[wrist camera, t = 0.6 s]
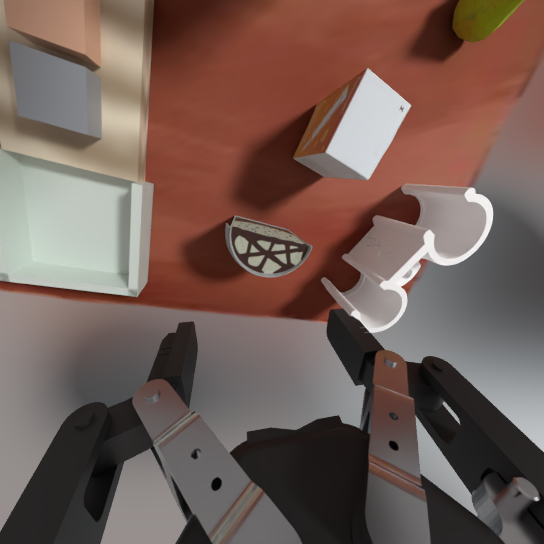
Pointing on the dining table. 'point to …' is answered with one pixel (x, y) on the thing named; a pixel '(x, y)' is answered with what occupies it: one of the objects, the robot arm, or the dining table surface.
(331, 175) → the small box
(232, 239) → the food container
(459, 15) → the fruit
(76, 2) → the tile
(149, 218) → the tray
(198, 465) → the robot arm
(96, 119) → the tile
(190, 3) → the dining table surface
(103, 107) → the beige slab
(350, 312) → the bracket
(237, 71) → the dining table surface
